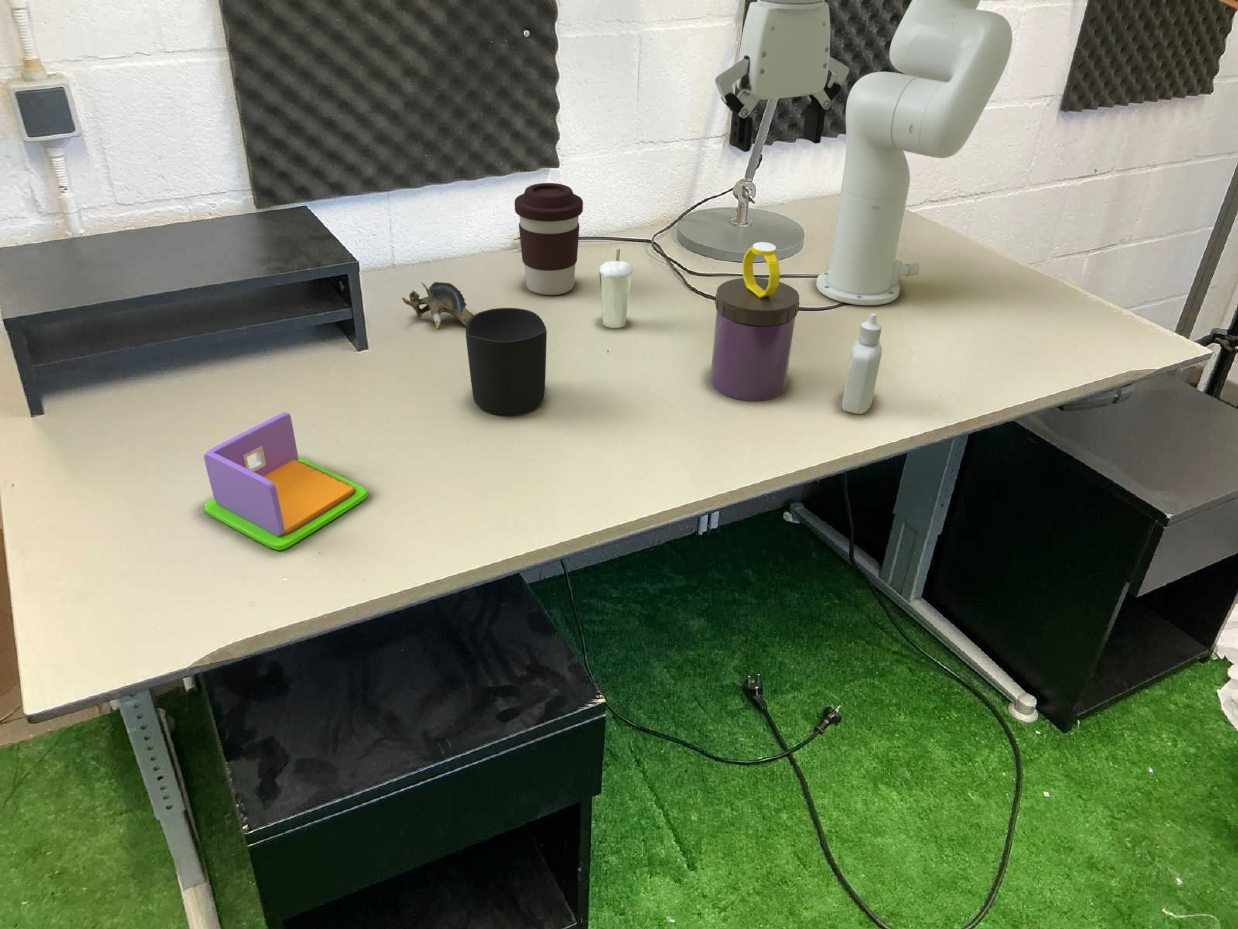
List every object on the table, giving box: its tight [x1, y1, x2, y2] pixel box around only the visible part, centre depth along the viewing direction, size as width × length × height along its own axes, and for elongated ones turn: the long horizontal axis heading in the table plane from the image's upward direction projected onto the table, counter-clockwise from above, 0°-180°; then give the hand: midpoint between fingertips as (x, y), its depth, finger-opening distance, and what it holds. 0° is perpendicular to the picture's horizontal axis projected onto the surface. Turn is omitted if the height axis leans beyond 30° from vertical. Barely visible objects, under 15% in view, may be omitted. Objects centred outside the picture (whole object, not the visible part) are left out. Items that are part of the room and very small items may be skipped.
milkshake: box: [598, 247, 633, 329], centre depth 134 cm, size 4×5×10 cm
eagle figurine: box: [401, 280, 475, 330], centre depth 134 cm, size 8×7×9 cm
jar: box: [709, 309, 796, 402], centre depth 119 cm, size 10×10×12 cm
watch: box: [741, 241, 781, 298], centre depth 114 cm, size 6×3×6 cm, turn 27°
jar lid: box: [714, 277, 800, 326], centre depth 116 cm, size 10×10×2 cm
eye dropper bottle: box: [841, 313, 883, 415], centre depth 115 cm, size 4×6×12 cm
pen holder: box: [465, 307, 548, 417], centre depth 115 cm, size 9×9×10 cm
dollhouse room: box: [203, 411, 368, 551], centre depth 96 cm, size 12×12×7 cm
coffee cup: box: [514, 182, 584, 296], centre depth 143 cm, size 10×10×15 cm
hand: (776, 144), depth 117 cm, fingers open, 9 cm apart
